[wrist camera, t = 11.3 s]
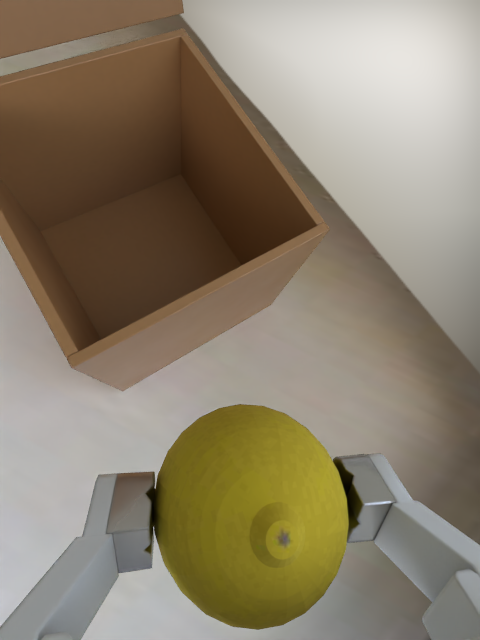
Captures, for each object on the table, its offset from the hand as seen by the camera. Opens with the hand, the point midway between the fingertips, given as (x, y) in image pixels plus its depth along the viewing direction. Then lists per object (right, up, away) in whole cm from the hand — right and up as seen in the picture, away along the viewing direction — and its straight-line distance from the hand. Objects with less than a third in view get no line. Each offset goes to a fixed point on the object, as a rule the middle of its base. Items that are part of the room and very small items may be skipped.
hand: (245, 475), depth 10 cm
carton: (-6, +8, +14) cm, 17 cm away
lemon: (-1, -2, +4) cm, 5 cm away
